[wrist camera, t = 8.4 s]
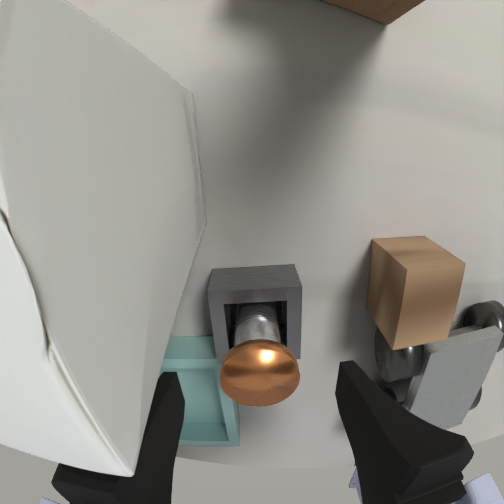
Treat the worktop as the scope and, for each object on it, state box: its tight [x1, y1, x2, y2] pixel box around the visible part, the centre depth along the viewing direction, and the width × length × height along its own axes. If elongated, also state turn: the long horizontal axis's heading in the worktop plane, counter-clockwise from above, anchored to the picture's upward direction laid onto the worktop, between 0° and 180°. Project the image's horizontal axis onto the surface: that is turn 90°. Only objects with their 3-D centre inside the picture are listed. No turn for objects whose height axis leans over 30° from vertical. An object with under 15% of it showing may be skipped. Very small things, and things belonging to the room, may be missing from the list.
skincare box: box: [0, 0, 206, 477], centre depth 10 cm, size 8×7×16 cm
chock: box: [366, 236, 466, 350], centre depth 17 cm, size 5×4×5 cm
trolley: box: [375, 301, 504, 430], centre depth 20 cm, size 11×11×5 cm
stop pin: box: [220, 301, 300, 406], centre depth 17 cm, size 4×4×7 cm
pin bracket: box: [207, 264, 302, 364], centre depth 19 cm, size 5×5×3 cm
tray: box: [158, 336, 240, 446], centre depth 21 cm, size 10×8×2 cm
